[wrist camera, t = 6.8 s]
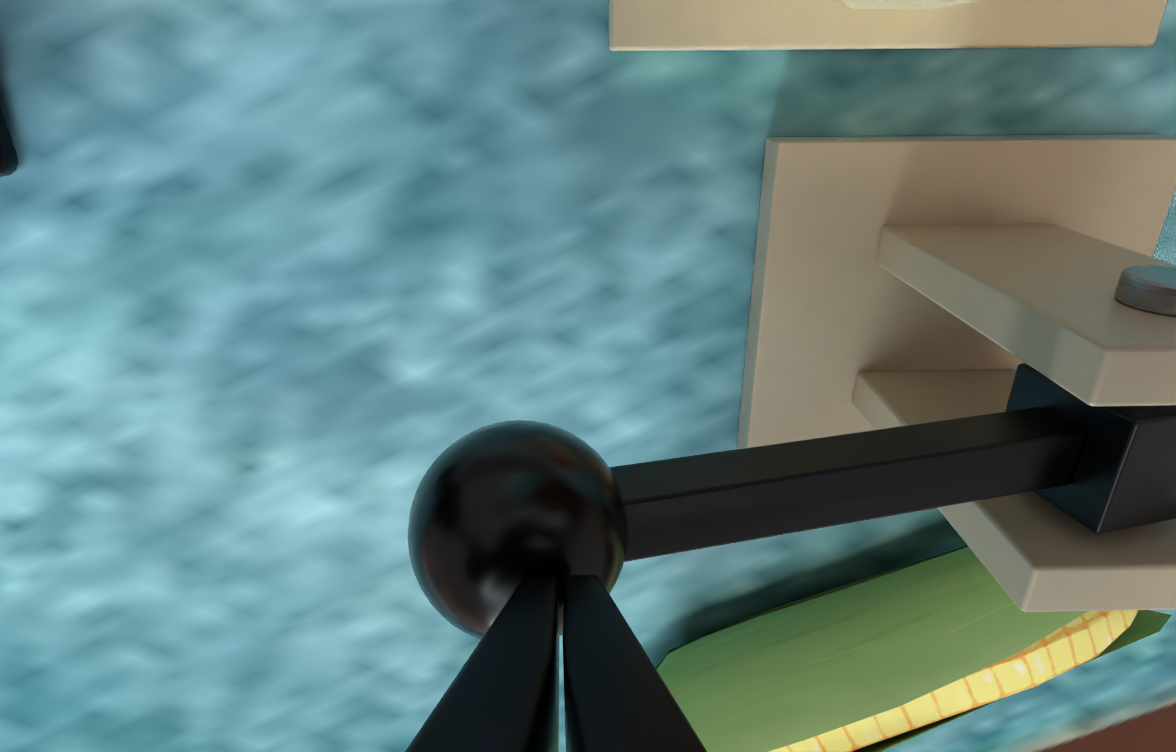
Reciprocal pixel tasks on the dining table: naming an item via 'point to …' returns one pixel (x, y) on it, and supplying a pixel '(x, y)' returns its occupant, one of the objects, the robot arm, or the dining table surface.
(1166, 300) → the lever stand
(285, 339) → the dining table surface
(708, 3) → the control block
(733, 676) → the edible corn
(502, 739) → the robot arm
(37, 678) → the dining table surface
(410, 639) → the dining table surface
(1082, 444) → the black lever handle
